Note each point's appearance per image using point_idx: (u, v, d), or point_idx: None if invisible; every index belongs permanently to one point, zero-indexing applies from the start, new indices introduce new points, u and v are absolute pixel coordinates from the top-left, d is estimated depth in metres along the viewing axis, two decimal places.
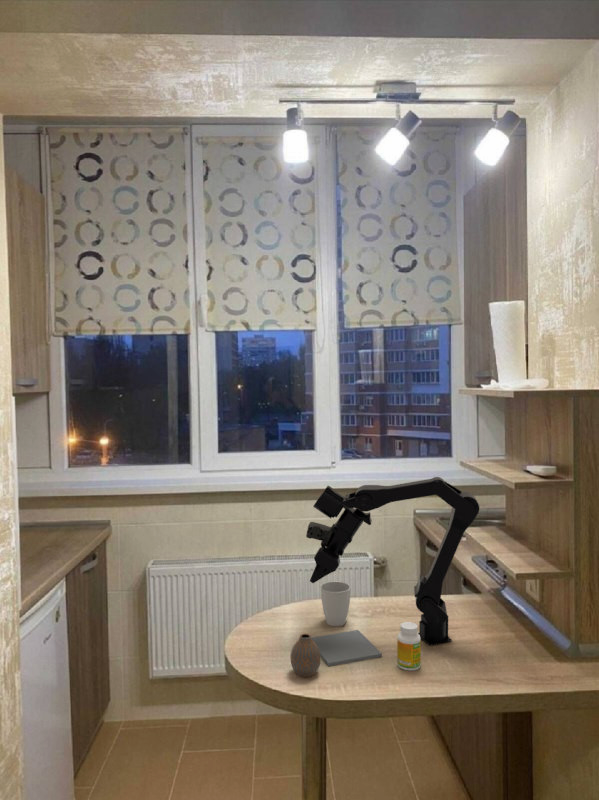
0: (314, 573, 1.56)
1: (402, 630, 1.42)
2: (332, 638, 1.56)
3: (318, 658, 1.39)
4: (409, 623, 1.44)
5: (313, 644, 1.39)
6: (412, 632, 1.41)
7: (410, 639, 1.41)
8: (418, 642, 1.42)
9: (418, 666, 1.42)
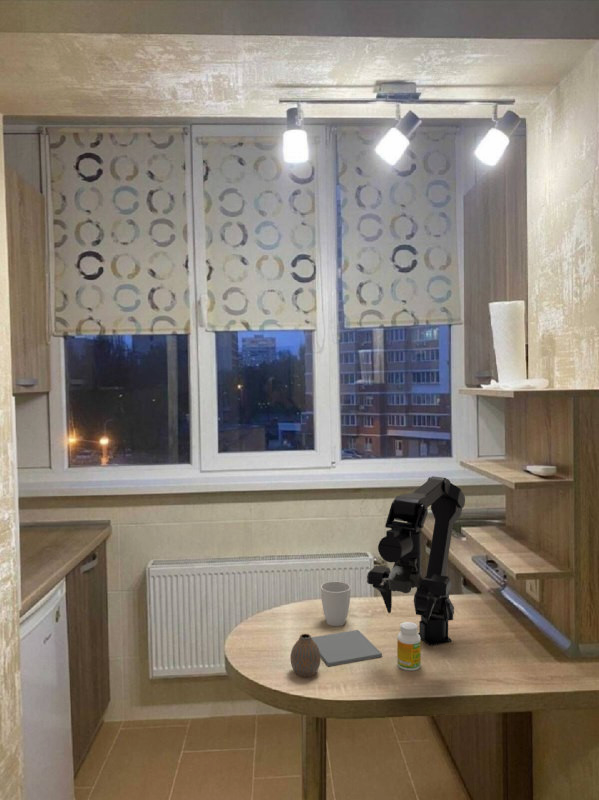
0: (430, 609, 1.40)
1: (402, 630, 1.42)
2: (332, 638, 1.56)
3: (318, 658, 1.39)
4: (409, 623, 1.44)
5: (313, 644, 1.39)
6: (412, 632, 1.41)
7: (410, 639, 1.41)
8: (418, 642, 1.42)
9: (418, 666, 1.42)
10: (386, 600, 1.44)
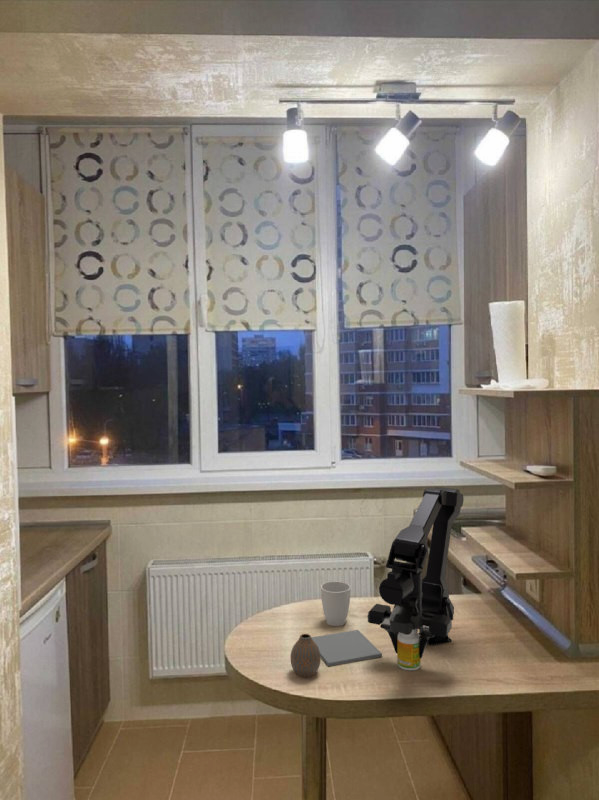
0: (424, 647, 1.42)
1: None
2: (332, 638, 1.56)
3: (318, 658, 1.39)
4: None
5: (313, 644, 1.39)
6: (412, 632, 1.41)
7: (410, 639, 1.41)
8: (418, 642, 1.42)
9: (418, 666, 1.42)
10: (394, 640, 1.44)
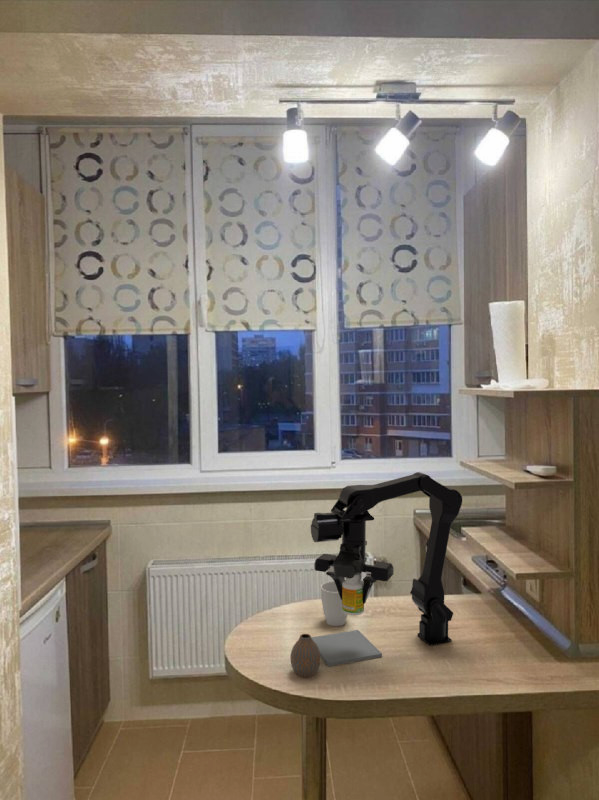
0: (367, 593, 1.48)
1: None
2: (332, 638, 1.56)
3: (318, 658, 1.39)
4: None
5: (313, 644, 1.39)
6: (355, 579, 1.48)
7: (353, 584, 1.48)
8: (361, 588, 1.48)
9: (361, 611, 1.48)
10: (339, 587, 1.50)
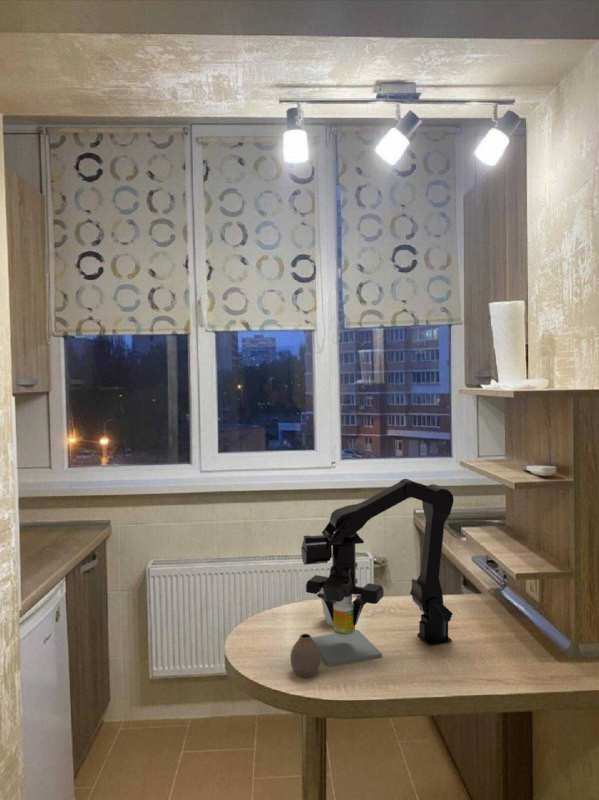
0: (357, 615, 1.50)
1: None
2: (332, 638, 1.56)
3: (318, 658, 1.39)
4: None
5: (313, 644, 1.39)
6: (346, 601, 1.50)
7: (344, 606, 1.50)
8: (352, 610, 1.50)
9: (352, 632, 1.50)
10: (330, 609, 1.52)
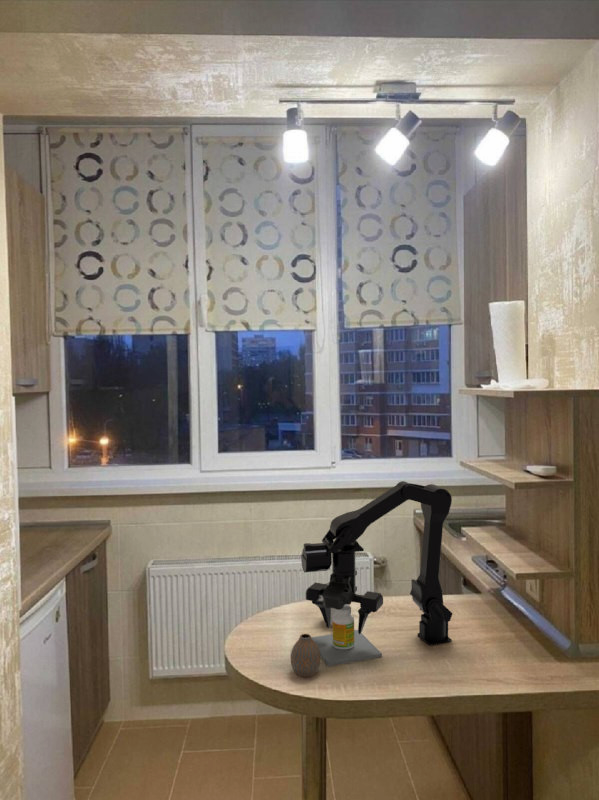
0: None
1: (336, 612, 1.51)
2: (332, 638, 1.56)
3: (318, 658, 1.39)
4: None
5: (313, 644, 1.39)
6: (345, 614, 1.50)
7: (343, 619, 1.50)
8: (351, 623, 1.50)
9: (352, 645, 1.51)
10: (325, 615, 1.53)
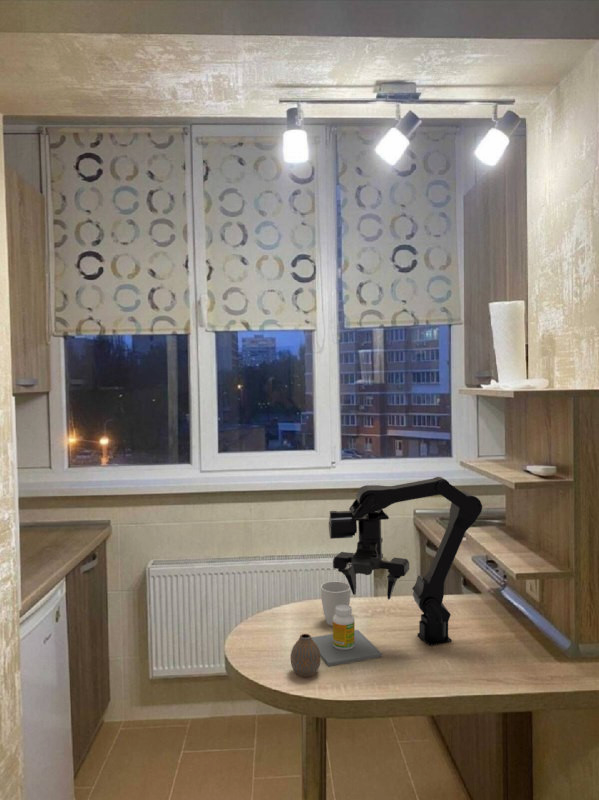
0: None
1: (337, 612, 1.51)
2: (332, 638, 1.56)
3: (318, 658, 1.39)
4: (344, 606, 1.53)
5: (313, 644, 1.39)
6: (345, 614, 1.50)
7: (343, 620, 1.50)
8: (351, 623, 1.50)
9: (352, 645, 1.51)
10: (351, 583, 1.57)
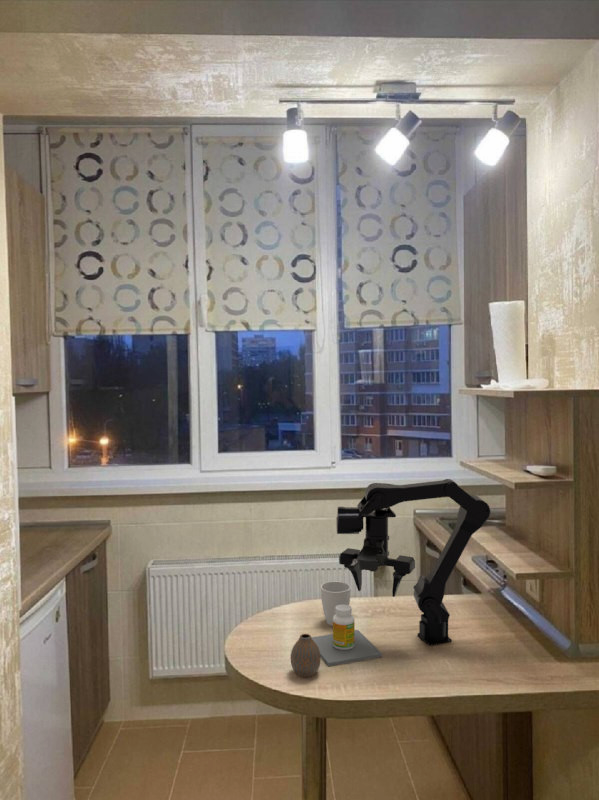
0: (396, 587, 1.54)
1: (336, 612, 1.51)
2: (332, 638, 1.56)
3: (318, 658, 1.39)
4: (344, 606, 1.53)
5: (313, 644, 1.39)
6: (345, 614, 1.50)
7: (343, 620, 1.50)
8: (351, 623, 1.50)
9: (352, 645, 1.51)
10: (356, 579, 1.58)
